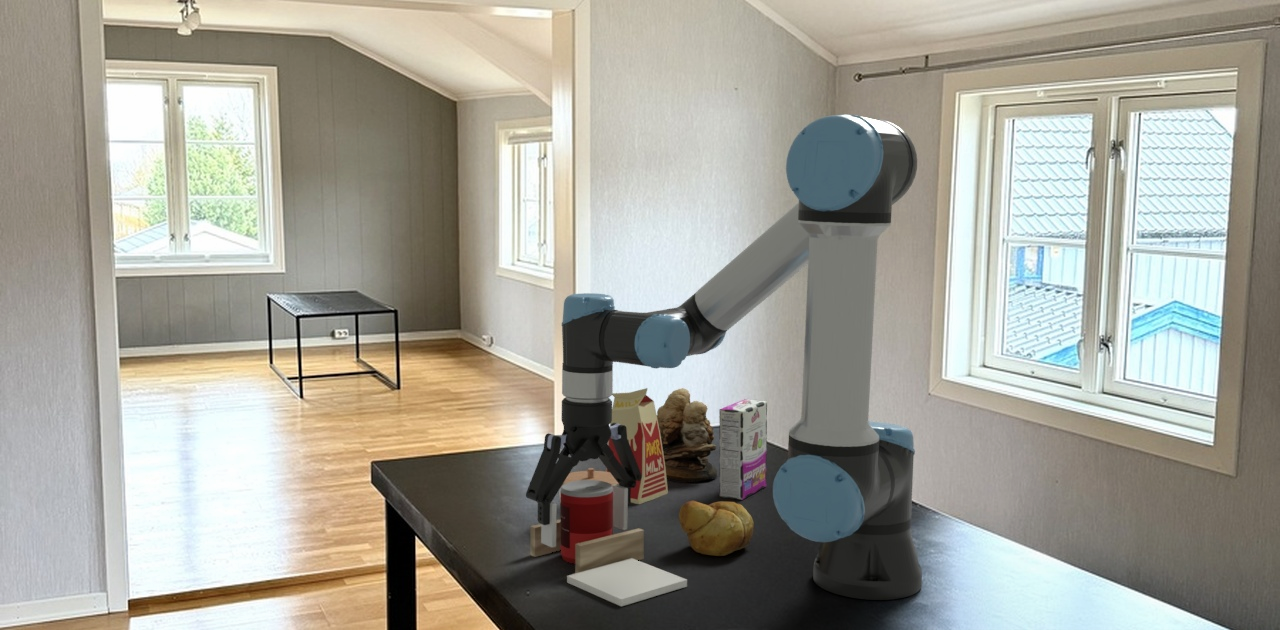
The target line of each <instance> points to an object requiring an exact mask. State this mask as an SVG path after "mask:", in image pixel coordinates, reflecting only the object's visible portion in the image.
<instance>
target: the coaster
mask: <svg viewBox="0 0 1280 630" xmlns="http://www.w3.org/2000/svg"><path fill="white" fill-rule="evenodd" d="M566 582H567V583H568V584H570V585H572V586H575V587H577V588H578V589H581V590H583V591H585V592H588V593H590V594H592V595H594V596H596V597H599V598H601V599H604V600H606V601H607V602H610V603H612V604H614V605H617V606H619V607H624V606H628V605H631V604H634V603H637V602H641V601H644V600H647V599H650V598H654V597H656V596H657V597H658V596H660V595H663V594H667V593H670V592H673V591H676V590H680V589H684V588H687V587H688V579H687V578H684V577H682V576H679V575H676V574H675V573H671V572H669V571H666V570H664V569H661V568H658V567H656V566H653V565H650V564H648V563H646V562H643V561H641V560H639V561H638V560H635V559H633V558H631V559H627V560H623V561H620V562H616V563H612V564H608V565H605V566H601V567H597V568H594V569H590V570H586V571H583V572H579V573H575V572H574V573H572V574H569V575H566Z"/></svg>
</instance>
